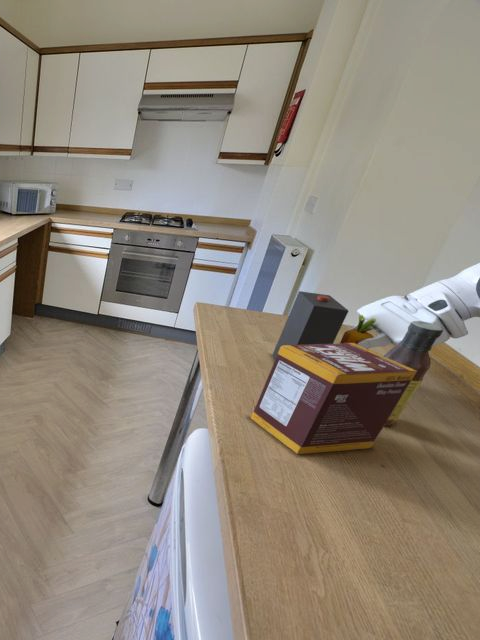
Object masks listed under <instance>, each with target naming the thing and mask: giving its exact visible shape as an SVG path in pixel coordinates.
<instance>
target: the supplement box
mask: <svg viewBox="0 0 480 640" xmlns="http://www.w3.org/2000/svg"><path fill="white" fill-rule="evenodd" d="M416 372H417V371H416V370H414V369H412V368H409V367H407V366H405V365H402V364H400V363H398V362H395V361H393V360H391V359H389V358H386V357H384V355H382V354H379V353H377V352H375V351H373V350H371V349H366V348H364V347H361V346H359V345H357V344H355V343H340V342H339V343H333V344H308V345H283V346H281V347H280V350H279V352H278V354H277V357H276V359H274V362H273V364H272V367H271V369H270V371H269V374H268V376H267V378H266V381H265V383H264V386H263V388H262V391H261V393H260V396H259V398H258V399H257V402H256V405H255V406H254V410H253V412H252V414H251V417H250V419H251V420H252V421H253V422H255V423H256V424H257V425H259V426H260V427H261V428H262V429H264V430H265V431H267V432H268V433H269V434H271V435H272V436H273V437H274V438H275V439H277V440H278V441H279V442H281V443H282V444H284V446H286V447H288V448H289V449H290V450H291V451H293V452H294V453H295V454H297V455H304V454H305V455H306V454H317V453H329V452H330V453H331V452H340V451H353V450H365V449H366V450H367V449H371V448H372V447H373V445H374V443H375V441H376V440H377V439H378V437H379V435H380V433H381V431H382V430H383V428H384V427H385V426H386V425H385V423H386V421H387V420H388V418H389V416H390V415H391V413H392V411H393V410H394V408H395V406H396V405H397V403H398V402H399V400H400V398H401V397H402V395H403V393H404V392H405V390H406V388H407V387H408V385H409V383H410V382H411V380H412V378H413V377H414V375H415V373H416Z"/></svg>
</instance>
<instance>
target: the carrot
mask: <svg viewBox="0 0 480 640" xmlns="http://www.w3.org/2000/svg"><path fill="white" fill-rule="evenodd" d="M364 321H365V319H364V318H363V315H360V316H359V315H358V322H357V323H358V328H357V329H351V328H350V329H351V330H349V329H347V330H348V331H347V330H345V331H346V332H345V331H344V332H345V333H343V335H342V336H341V339H340V341H339V344H340V343H355V344H356V341H359V340H361V339H363V338H365V339H369V338H374V337H375V336H373V334H371V333H370V331H372V330H373V331H374V328H372V327H369V328H368V326H370V325H371V324H373V323H374V322H376V319H375V318H372V319H370V320H369V321H367V322H366V323H365V324H364V325H363V326H362V324H363V322H364ZM368 350H370V348H368Z"/></svg>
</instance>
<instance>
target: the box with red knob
mask: <svg viewBox="0 0 480 640" xmlns="http://www.w3.org/2000/svg"><path fill="white" fill-rule="evenodd" d="M348 313H349V309H348V308H346V307H345V306H344V305H342V304H341V303H340V302H339V301H338V300H336V299H335V298H334V297H333V296H331V295H330V294H323V293H317V292H316V293H315V292H308V291H301V290H298V293H297V294H296V297H295V299H294V302H293V304H292V306H291V309H290V312H289V314H288V316H287V319H286V321H285V323H284V326H283V327H282V331H281V334H280V335H279V338H278V340H277V343H276V345H275V348H274V351H272V352H273V353H272V355H271V356H272V357H273V359H274V360H275V359H276V357H277V354H278V352H279V350H280V347H281V346H283V345H308V344H334V343H335V340H336V338H337V337H338V334H339V332H340V330H341V328H342V326H343V324H344V322H345V320H346V317H347V316H348Z"/></svg>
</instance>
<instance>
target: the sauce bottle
mask: <svg viewBox="0 0 480 640" xmlns="http://www.w3.org/2000/svg"><path fill="white" fill-rule="evenodd" d="M443 330H444V329H443V328H442V327H440V326H438V325H435V324H432V323H429V322H423V321H412V322H411V324H410V325H409V326H408V331H407V333H406V334H405V336H404V338H403V340H402V341H401V342H400V343H399V344H398V345H396V346H394V347H392V348H391V349H390V350H389V351H387V353H385V354H383V356H384V357H386V358H389V359H391V360H393V361H395V362H398V363H400V364H402V365H405V366H407V367H409V368H412V369H414V370H416V371H417V372H416V373H415V375H414V377H413V378H412V380H411V382H410V383H409V385H408V387H407V388H406V390H405V392H404V393H403V395H402V397H401V398H400V400H399V402H398V403H397V405H396V406H395V408H394V410H393V411H392V413H391V415H390V416H389V418H388V420H387V421H386V423H385V425H384V426H390V425H393V424H395V422H396V421H397V420H398V419H399V418H400V417H401V415H402V413H403V412H404V410H405V409H406V407H407V405H409V402H410V401H411V399H412V398H413V396H414V394H415V393H416V391H417V390H418V389H419V387H420V385H421V383H422V382H423V380H424V377H425V375H426V374H427V373H428V371H429V370H430V367H431V365H432V364H431V357H430V353H429V352H430V351H431V350H432V348H433V347H432V345H433V344H434V342H435V340H436V339H437V338H438V337H439V336H440V335H441V334H442V332H443Z"/></svg>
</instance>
